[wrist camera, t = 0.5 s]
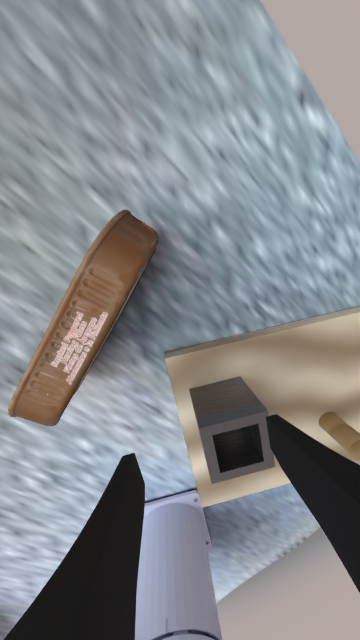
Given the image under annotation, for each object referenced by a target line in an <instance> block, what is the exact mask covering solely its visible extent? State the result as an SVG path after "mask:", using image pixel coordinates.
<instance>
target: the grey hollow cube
mask: <svg viewBox="0 0 360 640" xmlns="http://www.w3.org/2000/svg"><path fill="white" fill-rule="evenodd" d="M189 392H190V396H191V400H192V405H193V409H194V414H195V418H196V422H197V427H198V431H199V435H200V440H201V444H202V448H203V452H204V456H205V460H206V464H207V468H208V472H209V476H210V480H211V484H215V483H219V482H222V481H226V480H230V479H233V478H237V477H240V476H244V475H248V474H251V473H255V472H259V471H262V470H266V469H270V468H273V467H275V460H274V454H273V452H272V450H271V448H270V442H269V436H268V429H267V423H266V417H267V416H269V414H268V410H267V409H266V408H265V406H264V405H263V404H262V403H261V401H260V400H259V399H258V398H257V396H256V395H255V394H254V393H253V392H252V390H251V389H250V388H249V387H248V385H247V384H246V383H245V382H244V380H243V379H242V378H241V377H240V376H239V377H235V378H231V379H227V380H223V381H219V382H215V383H211V384H207V385H203V386H199V387H195V388H191V389H189Z"/></svg>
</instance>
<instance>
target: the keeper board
mask: <svg viewBox="0 0 360 640" xmlns="http://www.w3.org/2000/svg"><path fill="white" fill-rule="evenodd" d="M164 354H165V362H166V366H167V370H168V374H169V378H170V382H171V386H172V390H173V394H174V398H175V402H176V406H177V410H178V414H179V418H180V422H181V426H182V430H183V434H184V438H185V442H186V446H187V450H188V454H189V458H190V462H191V466H192V470H193V474H194V478H195V482H196V486H197V490H198V494H199V498H200V502H201V506H202V508H203V507H207V506H210V505H214V504H218V503H221V502H225V501H228V500H232V499H236V498H239V497H243V496H246V495H250V494H253V493H257V492H261V491H264V490H268V489H271V488H275V487H279V486H282V485H286V484H289V483H291V482H290V480H289V479H288V477H287V476H286V474H285V473H284V471H283V470H282V468H281V466H280V465H279V463H278V461H277V459H276V457H275V456H274V460H275V467H273V468H270V469H266V470H262V471H259V472H255V473H251V474H248V475H244V476H240V477H237V478H233V479H230V480H226V481H222V482H219V483H215V484H211V480H210V476H209V472H208V468H207V464H206V460H205V456H204V452H203V448H202V444H201V440H200V435H199V431H198V427H197V422H196V418H195V414H194V409H193V405H192V400H191V396H190V392H189V389H191V388H195V387H199V386H203V385H207V384H211V383H215V382H219V381H223V380H227V379H231V378H235V377H239V376H240V377H241V378H242V379H243V380H244V382H245V383H246V384H247V385H248V387H249V388H250V389H251V390H252V392H253V393H254V394H255V395H256V396H257V398H258V399H259V400H260V401H261V403H262V404H263V405H264V406H265V408H266V409H267V410H268V414H269V416H271V415H275V414H277V415H279V416H280V417H282V418H283V419H285V420H286V421H288V422H289V423H291V424H292V425H294V426H295V427H297V428H298V429H300V430H301V431H303V432H304V433H306V434H307V435H309V436H310V437H312V438H314V439H315V440H317V441H318V442H320V443H322V444H323V445H325V446H327V447H328V448H330V449H332V450H333V451H335V452H337V453H339V454H340V455H342V456H344V457H346V458H348V459H349V460H351V461H353V462H355V463H357V464H360V307H354V308H350V309H345V310H341V311H337V312H333V313H329V314H324V315H320V316H316V317H312V318H308V319H303V320H299V321H295V322H291V323H287V324H282V325H278V326H274V327H270V328H266V329H261V330H257V331H253V332H249V333H245V334H240V335H236V336H232V337H228V338H224V339H219V340H215V341H211V342H207V343H202V344H198V345H194V346H190V347H186V348H181V349H177V350H173V351H169V352H165V353H164Z"/></svg>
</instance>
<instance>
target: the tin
mask: <svg viewBox="0 0 360 640" xmlns="http://www.w3.org/2000/svg"><path fill="white" fill-rule="evenodd" d="M158 239H159V237H158V234H157V232H156V231H155V230H153V229H152V228H151V227H149V226H148V225H146V224H144V223H143V222H141V221H140V220H139V219H137V218H136V217H134V216H133V215H132V214H131V212H130V211H128V210H122V211H121V212H119V213H118V214H116V215H115V216H114V217H113V218H112V219H111V220H110V221H109V222H108V224H107V225H106V226H105V227H104V229H103V230H102V231H101V232H100V234H99V235H98V236H97V238H96V239H95V241H94V242H93V244H92V246H91V247H90V249H89V250H88V252H87V254H86V255H85V257H84V259H83V261H82V263H81V264H80V266H79V268H78V270H77V272H76V274H75V276H74V278H73V280H72V282H71V284H70V286H69V288H68V290H67V292H66V294H65V296H64V298H63V299H62V301H61V303H60V305H59V307H58V309H57V311H56V313H55V315H54V317H53V319H52V321H51V323H50V325H49V327H48V329H47V331H46V333H45V335H44V337H43V339H42V340H41V342H40V344H39V346H38V348H37V350H36V352H35V354H34V356H33V358H32V360H31V362H30V364H29V366H28V368H27V370H26V371H25V373H24V375H23V377H22V379H21V381H20V383H19V385H18V387H17V389H16V391H15V393H14V395H13V397H12V399H11V402H10V406H9V409H8V412H9V415H10V416H11V417H16V416H18V417H21V418H24V419H27V420H30V421H33V422H36V423H39V424H43V425H46V426H54V425H56V424H57V423H58V422H59V420H60V418H61V416H62V414H63V412H64V410H65V409H66V407H67V405H68V403H69V402H70V400H71V398H72V396H73V395H74V394H75V392H76V391H77V390H78V388H79V387H80V385H81V383H82V381H83V380H84V378H85V376H86V374H87V373H88V371H89V369H90V367H91V366H92V364H93V362H94V360H95V359H96V357H97V355H98V353H99V352H100V350H101V348H102V346H103V345H104V343H105V341H106V339H107V338H108V336H109V334H110V333H111V331H112V329H113V327H114V326H115V324H116V322H117V320H118V319H119V317H120V315H121V313H122V312H123V310H124V308H125V306H126V304H127V302H128V301H129V299H130V297H131V295H132V293H133V291H134V289H135V288H136V286H137V284H138V282H139V280H140V278H141V276H142V275H143V273H144V271H145V269H146V267H147V265H148V263H149V262H150V260H151V258H152V256H153V254H154V252H155V249H156V245H157V243H158Z"/></svg>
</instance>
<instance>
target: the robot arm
mask: <svg viewBox="0 0 360 640" xmlns="http://www.w3.org/2000/svg"><path fill="white" fill-rule="evenodd" d="M266 423H267V429H268V436H269V442H270V448H271V450H272V452H273V454H274V456H275V457H276V459H277V461H278V463H279V465H280V466H281V468H282V470H283V471H284V473H285V474H286V476H287V477H288V479H289V480H290V482H291V483H292V485H293V486H294V488H295V489H296V491H297V492H298V494H299V495H300V497H301V498H302V500H303V501H304V502H305V504H306V505H307V507H308V508H309V510H310V511H311V513H312V514H313V516H314V517H315V519H316V520H317V522H318V523H319V525H320V526H321V528H322V529H323V531H324V532H325V534H326V536H327V537H328V539H329V540H330V542H331V544H332V546H333V547H334V549H335V551H336V553H337V554H338V556H339V558H340V559H341V561H342V563H343V565H344V566H345V568H346V569H347V571H348V573H349V575H350V577H351V578H352V580H353V582H354V584H355V585H356V587H357V589H358V591H359V592H360V465H359V464H357V463H355V462H353V461H351V460H349V459H348V458H346V457H344V456H342V455H340V454H339V453H337V452H335V451H333V450H332V449H330V448H328V447H327V446H325V445H323V444H322V443H320V442H318V441H317V440H315V439H314V438H312V437H310V436H309V435H307V434H306V433H304V432H303V431H301V430H300V429H298V428H297V427H295V426H294V425H292V424H291V423H289V422H288V421H286V420H285V419H283V418H282V417H280V416H279V415H277V414H275V415H271V416H267V417H266ZM211 550H212V543H211V539H210V535H209V531H208V527H207V523H206V519H205V515H204V511H203V508H202V506H201V502H200V498H199V494H198V491H197V490H192V491H189V492H185V493H181V494H178V495H174V496H170V497H167V498H163V499H159V500H156V501H152V502H148V503H145V483H144V480H143V477H142V474H141V471H140V468H139V465H138V462H137V459H136V456H135V453H132V454H129V455H125V456H123V457H122V458H121V460H120V462H119V464H118V466H117V468H116V470H115V472H114V474H113V476H112V478H111V480H110V482H109V484H108V486H107V487H106V489H105V491H104V493H103V495H102V497H101V499H100V500H99V502H98V504H97V506H96V508H95V509H94V511H93V513H92V514H91V516H90V518H89V520H88V521H87V523H86V525H85V526H84V528H83V530H82V531H81V533H80V535H79V536H78V538H77V539H76V541H75V543H74V544H73V546H72V547H71V549H70V550H69V552H68V553H67V555H66V556H65V558H64V559H63V561H62V562H61V564H60V565H59V567H58V568H57V570H56V571H55V572H54V574H53V575H52V577H51V578H50V579H49V581H48V582H47V584H46V585H45V586H44V588H43V589H42V591H41V592H40V593H39V595H38V596H37V597H36V599H35V600H34V602H33V603H32V604H31V606H30V607H29V608H28V609H27V611H26V612H25V613H24V615H23V616H22V617H21V619H20V620H19V621H18V622H17V624H16V625H15V626H14V628H13V629H12V630H11V631H10V633H9V634H8V635H7V636H6V638H5V639H4V640H222V636H221V630H220V624H219V618H218V613H217V606H216V600H215V594H214V589H213V583H212V577H211V571H210V565H209V559H208V553H207V552H208V551H211Z"/></svg>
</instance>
